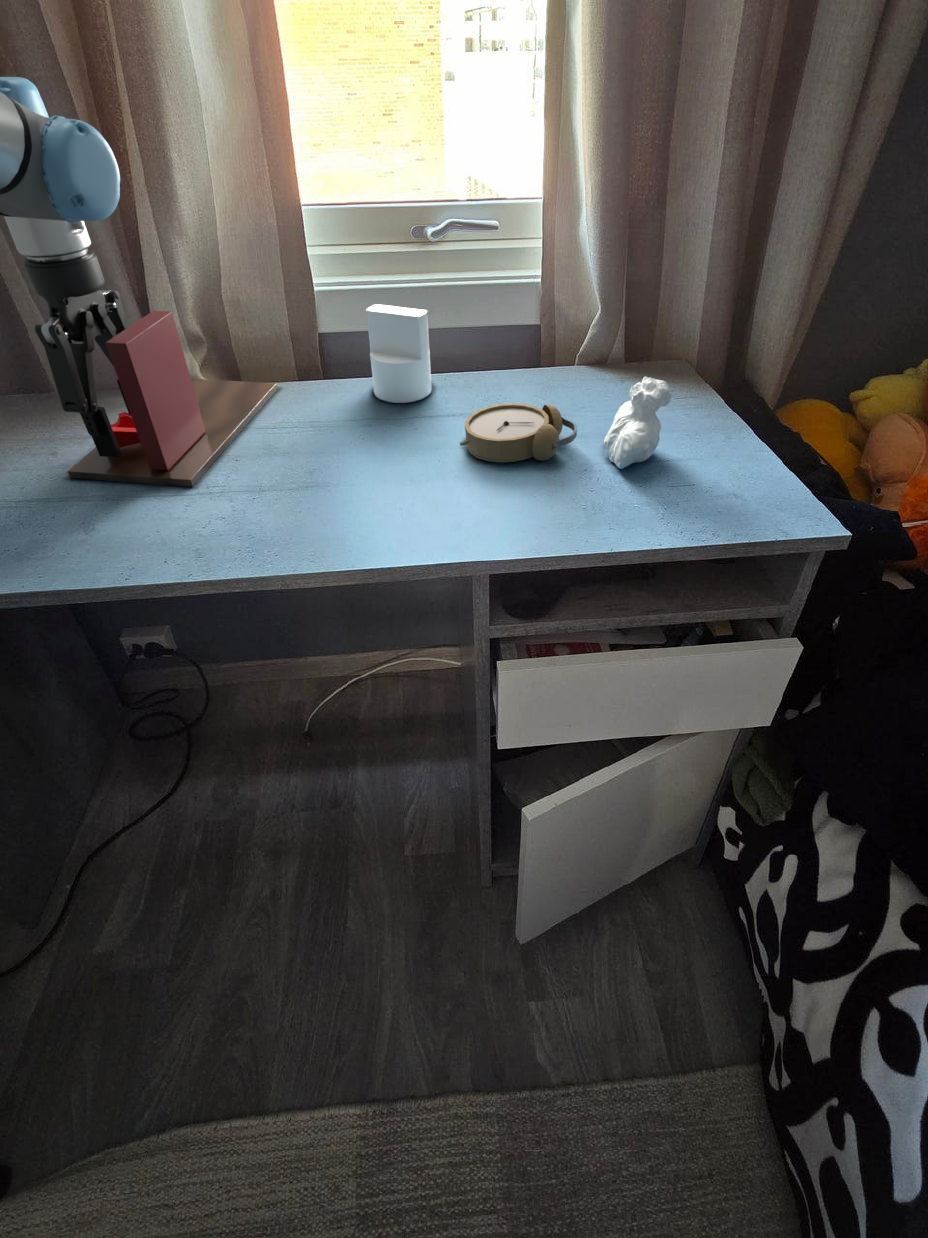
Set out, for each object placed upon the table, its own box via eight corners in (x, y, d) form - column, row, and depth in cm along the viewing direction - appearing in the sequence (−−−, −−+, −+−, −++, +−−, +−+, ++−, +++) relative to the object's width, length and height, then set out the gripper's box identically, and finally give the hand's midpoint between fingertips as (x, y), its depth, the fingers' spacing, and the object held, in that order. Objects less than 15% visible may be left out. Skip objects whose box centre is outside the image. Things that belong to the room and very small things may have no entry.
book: (149, 469, 88) (105, 342, 77) (189, 429, 96) (153, 310, 85) (168, 470, 88) (125, 343, 77) (205, 430, 96) (172, 310, 85)
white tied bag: (632, 493, 88) (702, 430, 81) (588, 458, 85) (657, 390, 79) (626, 448, 97) (689, 388, 90) (586, 415, 94) (648, 351, 88)
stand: (70, 478, 89) (67, 471, 88) (177, 383, 111) (176, 377, 110) (192, 486, 87) (190, 479, 86) (277, 388, 109) (276, 382, 108)
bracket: (106, 455, 90) (97, 433, 87) (100, 440, 93) (92, 419, 91) (157, 442, 92) (149, 421, 90) (150, 428, 95) (142, 407, 93)
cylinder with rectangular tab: (363, 397, 106) (354, 316, 98) (390, 375, 112) (383, 297, 104) (416, 406, 103) (411, 323, 95) (440, 383, 109) (437, 304, 101)
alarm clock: (471, 403, 97) (578, 392, 92) (477, 435, 100) (581, 426, 96) (454, 440, 88) (570, 430, 84) (461, 474, 92) (574, 466, 87)
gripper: (30, 281, 69) (112, 481, 84) (135, 230, 84) (189, 408, 99) (-36, 279, 70) (56, 477, 85) (79, 229, 85) (140, 405, 100)
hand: (127, 439), depth 92 cm, fingers closed on bracket, 8 cm apart
